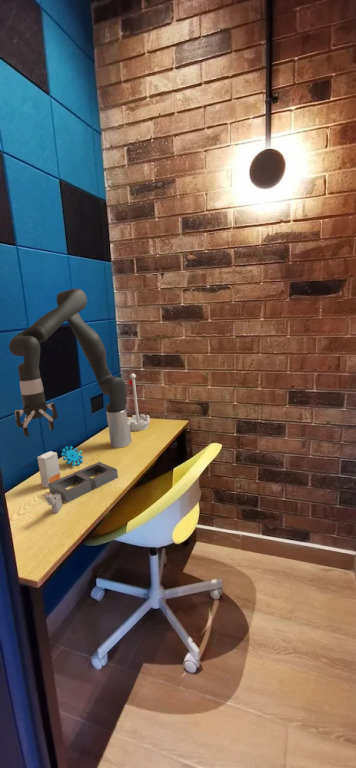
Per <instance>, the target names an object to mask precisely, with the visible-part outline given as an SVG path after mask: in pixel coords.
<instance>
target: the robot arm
mask: <svg viewBox="0 0 356 768" xmlns="http://www.w3.org/2000/svg"><path fill="white" fill-rule="evenodd" d="M55 299H56V304H57V307H54V309H52V310H50V311H49V312H47V313H45V314H43V315H42V316H41V317H40V318H38V319H37V320H36V321H35V322H34V323H32V325H31V326H30V327H28V328H26V329H24V330H23V331H21V332H19V333H17V334H16V335H15V336H13V337H12V338H11V339H10V342H9V345H8V349H9V351H10V353H11V354H12V355H14V356H16V357H23V363H20V364H19V365H18V366H17V372H18V378H19V388H20V394H21V399H22V405H23V409H19V410H18V409H15V410H14V415H15V425H16V427H17V428H22V432H23V435H24V436H25V437H26V438H29V437H30V434H29V429H28V424H29V423H30V422H31V420H36V419H40V418H41V419H42V418H43V417H45V418H46V419H47V420H48V421H47V422H48V427H49V431H50V432H52V431H54V429H55V423H54V421H55V420H56V419H58V411H57V408H56V404H55V403H54V402H50V403H48V404H47V403H46V397H45V393H44V392H45V391H44V386H43V381H42V378H41V373H40V367H39V366H40V359H41V343H43V342H45V341H47V340H48V339H49V338H50V337H51V335H53V334H54V332H55V331H57V330H58V329H59V328H60V327H61V326H62V325H63V324H64V323H65V322H67V324H68V325H69V328H70V329H71V330H72V332H73V334H74V336H75V338H76V340H77V342H78V344H79V346H80V348H81V350H82V352H83V354H84V356H85V358H86V360H87V362H88V363H89V365H90V367H91V370H92V371H93V373H94V376H95V378H96V381H97V384H98V386H99V389H100V390H101V393H103V394H104V396H105V395H106V396H109V398H108V399H109V403H107V404H106V405H105V411H106V420H107V427H108V428H107V429H108V433H109V441H110V442H109V443H110V447H112V448H117V449H118V448H123V447H126V446H129V445H130V444H131V443H132V433H131V432H132V431H131V430H130V424H129V423H128V421H127V418H128V415H127V402H128V397H127V396H128V395H127V388H126V387H127V386H126V383H125V381H124V379H123V378H121V377H119V376H118V377H117V376H113V375H112V372H111V371H110V369H109V368H108V365H107V353H106V352H107V351H106V348H105V346H104V343H103V340H102V339H101V337H100V336H99V333H97V332H96V330H94V329H93V328H91V327H90V326H89V325H88V324H87V323H86V322H85V321H84V320H83V319H82V316H81V315H80V313H79V312H81V311H82V310H84V309H85V308H86V306H87V304H88V298H87V295H86V293H85V292H84V291H83V290H82V289H80V288H71V289H67V290H64V291H61V292H58V293H57V295H56V298H55ZM48 409H49V410H51V414H52V415H49V414H48V413H47V412H46V411H47V410H48ZM23 414H25V417H24V420H23V421H21V416H23Z"/></svg>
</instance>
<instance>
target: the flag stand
mask: <svg viewBox="0 0 356 768" xmlns="http://www.w3.org/2000/svg"><path fill="white" fill-rule="evenodd" d="M129 377H130V380H128V381H127V383H128V384H129V385H130V386H132V391H133V401H134V402H133V403H134V408H135V415H134V414H132V415H131V417H130V416H129V417H128V416H127V421H128V423H129V424H130V432H132V431H133V432H139V431H144V430H146V429H148V428H149V424H150V422H151V419H150V417H151V416H150V415H148V414H147V415H145V414H140V415H139V413H140V412H139V407H138V406H139V405H138V395H137V387H136V378H137V375H136V374H135V373H130V376H129Z"/></svg>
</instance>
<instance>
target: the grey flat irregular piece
mask: <svg viewBox="0 0 356 768" xmlns="http://www.w3.org/2000/svg"><path fill="white" fill-rule="evenodd" d="M44 499H45V501H46V503H47V504H48V505H49V506H51V511H52V514H58V513H59V512H60V510H61V509H62V508H63V501H62V500H61V495H58V494H54V495H53V494H51V493H46V494H45V496H44Z"/></svg>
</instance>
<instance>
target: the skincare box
mask: <svg viewBox="0 0 356 768" xmlns="http://www.w3.org/2000/svg"><path fill="white" fill-rule="evenodd" d="M36 458H37V464H38V469H39V476H40V482H41V486H42V487H44V488H48V489H49V485H48V484H49V483H52V482H54V481H56V480H58V479H61V478H62V477H61V470H60V465H59V457H58V453H57V452H54V451H51V450H50V451H48V452H44V453H43V454H41V455H39V456H37V457H36Z"/></svg>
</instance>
